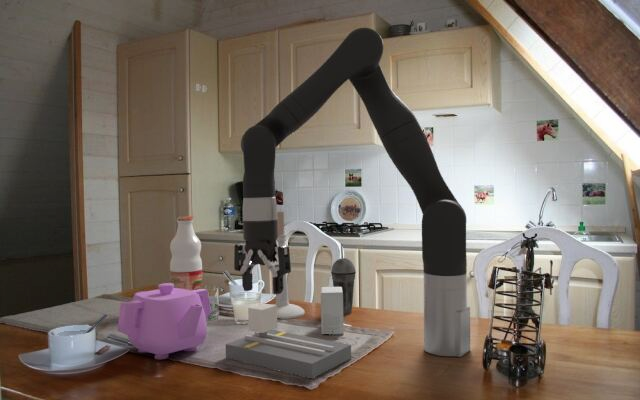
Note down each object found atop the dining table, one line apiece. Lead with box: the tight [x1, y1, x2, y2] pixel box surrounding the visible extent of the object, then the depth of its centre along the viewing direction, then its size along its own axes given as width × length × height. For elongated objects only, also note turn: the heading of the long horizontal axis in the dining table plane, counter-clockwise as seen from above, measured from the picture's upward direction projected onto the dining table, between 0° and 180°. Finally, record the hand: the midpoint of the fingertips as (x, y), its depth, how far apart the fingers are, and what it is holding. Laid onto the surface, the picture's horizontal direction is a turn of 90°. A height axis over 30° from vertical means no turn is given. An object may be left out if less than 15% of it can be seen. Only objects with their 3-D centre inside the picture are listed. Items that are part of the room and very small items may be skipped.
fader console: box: [225, 329, 352, 379], centre depth 113 cm, size 23×14×4 cm, turn 55°
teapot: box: [116, 282, 212, 360], centre depth 120 cm, size 19×18×15 cm
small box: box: [320, 286, 345, 336], centre depth 134 cm, size 8×6×10 cm
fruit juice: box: [169, 215, 203, 291], centre depth 159 cm, size 9×9×28 cm
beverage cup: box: [330, 243, 357, 315], centre depth 153 cm, size 7×7×20 cm
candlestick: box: [272, 209, 306, 320], centre depth 152 cm, size 13×13×30 cm
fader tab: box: [247, 302, 278, 338], centre depth 116 cm, size 4×5×7 cm
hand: (262, 292), depth 116 cm, fingers open, 8 cm apart
